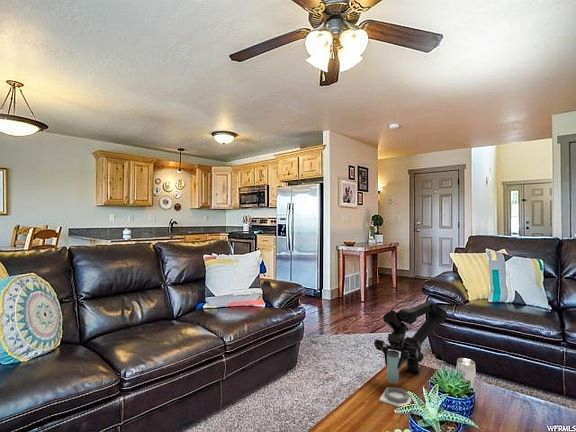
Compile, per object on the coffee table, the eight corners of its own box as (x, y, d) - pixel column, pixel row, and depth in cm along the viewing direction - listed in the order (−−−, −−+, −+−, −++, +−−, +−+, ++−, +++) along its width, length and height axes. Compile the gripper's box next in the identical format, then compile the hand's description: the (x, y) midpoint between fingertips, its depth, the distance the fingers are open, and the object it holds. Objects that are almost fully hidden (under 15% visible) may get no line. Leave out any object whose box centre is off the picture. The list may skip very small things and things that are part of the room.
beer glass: (462, 390, 141) (462, 356, 141) (478, 398, 135) (479, 362, 135) (453, 395, 137) (453, 360, 137) (469, 403, 131) (469, 366, 131)
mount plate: (387, 388, 143) (387, 383, 143) (413, 396, 137) (413, 390, 137) (379, 400, 133) (379, 395, 133) (407, 409, 127) (407, 403, 127)
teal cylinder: (388, 376, 148) (388, 349, 148) (400, 379, 145) (400, 351, 145) (385, 381, 144) (385, 353, 144) (397, 384, 141) (397, 356, 141)
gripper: (375, 322, 153) (367, 353, 144) (416, 329, 143) (411, 364, 134) (380, 333, 160) (372, 364, 150) (420, 341, 149) (415, 375, 140)
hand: (392, 367), depth 143 cm, fingers closed on teal cylinder, 5 cm apart
